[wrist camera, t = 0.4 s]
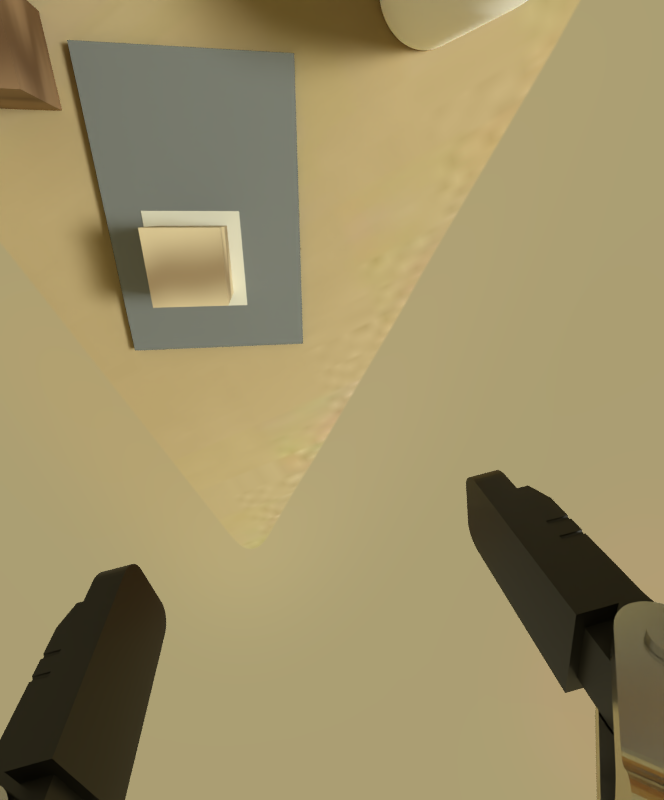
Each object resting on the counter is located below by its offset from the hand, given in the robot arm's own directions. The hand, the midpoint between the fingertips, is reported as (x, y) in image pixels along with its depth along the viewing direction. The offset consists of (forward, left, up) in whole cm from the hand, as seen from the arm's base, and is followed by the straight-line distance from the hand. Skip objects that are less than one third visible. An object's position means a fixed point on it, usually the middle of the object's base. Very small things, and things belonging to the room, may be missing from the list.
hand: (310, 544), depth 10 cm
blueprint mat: (-7, -5, -27) cm, 28 cm away
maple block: (-4, -6, -26) cm, 27 cm away
